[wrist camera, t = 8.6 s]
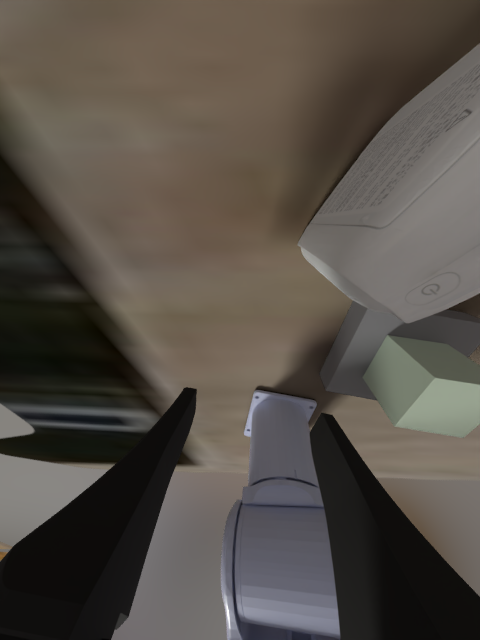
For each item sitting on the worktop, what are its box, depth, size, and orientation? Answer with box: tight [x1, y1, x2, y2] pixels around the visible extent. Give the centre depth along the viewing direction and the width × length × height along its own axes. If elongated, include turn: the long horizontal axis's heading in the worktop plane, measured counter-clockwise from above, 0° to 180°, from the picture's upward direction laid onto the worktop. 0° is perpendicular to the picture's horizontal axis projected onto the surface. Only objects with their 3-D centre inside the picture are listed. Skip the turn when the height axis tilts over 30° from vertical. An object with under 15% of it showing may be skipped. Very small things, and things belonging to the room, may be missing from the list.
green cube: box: [362, 335, 480, 438], centre depth 15 cm, size 5×5×5 cm
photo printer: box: [298, 43, 480, 323], centre depth 9 cm, size 10×4×12 cm, turn 147°
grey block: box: [319, 300, 480, 400], centre depth 18 cm, size 10×10×3 cm
